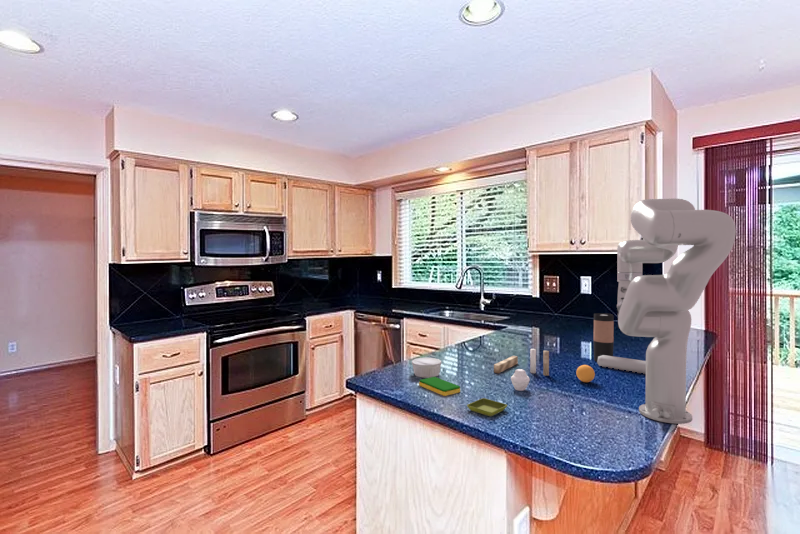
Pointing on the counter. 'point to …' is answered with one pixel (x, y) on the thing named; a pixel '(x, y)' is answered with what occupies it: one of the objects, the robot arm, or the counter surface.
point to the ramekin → (426, 367)
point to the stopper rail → (505, 364)
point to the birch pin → (546, 363)
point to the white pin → (532, 360)
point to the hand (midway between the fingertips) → (629, 327)
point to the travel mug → (603, 335)
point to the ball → (585, 373)
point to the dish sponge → (439, 386)
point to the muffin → (520, 380)
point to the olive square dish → (487, 407)
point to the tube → (622, 363)
